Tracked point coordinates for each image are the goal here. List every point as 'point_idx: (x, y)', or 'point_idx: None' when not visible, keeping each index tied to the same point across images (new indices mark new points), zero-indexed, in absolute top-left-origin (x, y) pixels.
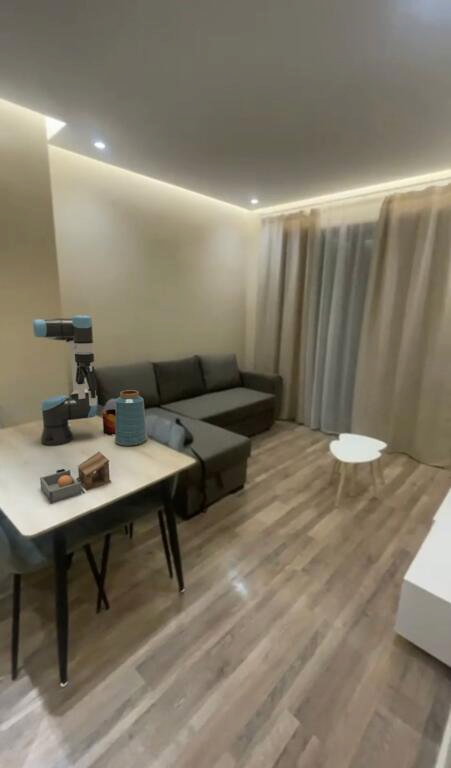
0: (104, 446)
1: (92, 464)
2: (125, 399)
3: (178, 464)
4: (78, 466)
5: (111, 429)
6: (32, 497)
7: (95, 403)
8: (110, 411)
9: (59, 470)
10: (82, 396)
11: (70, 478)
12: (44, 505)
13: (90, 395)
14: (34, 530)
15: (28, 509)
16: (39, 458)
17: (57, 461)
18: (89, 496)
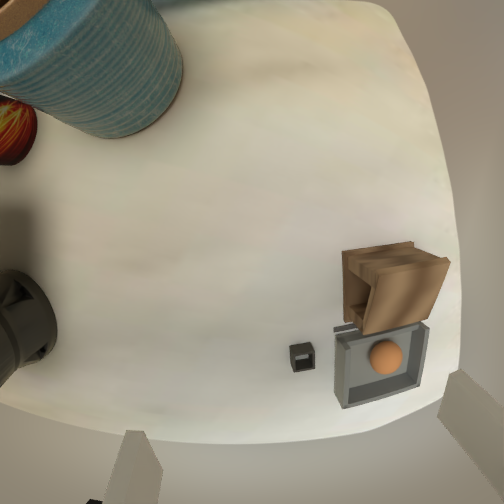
0: (121, 184)
1: (412, 302)
2: (52, 7)
3: (397, 40)
4: (369, 333)
5: (22, 137)
6: None
7: (466, 384)
8: None
9: (295, 364)
10: (147, 466)
11: (398, 350)
12: None
13: (498, 460)
14: None
15: (397, 402)
16: (139, 384)
17: (183, 350)
18: None
